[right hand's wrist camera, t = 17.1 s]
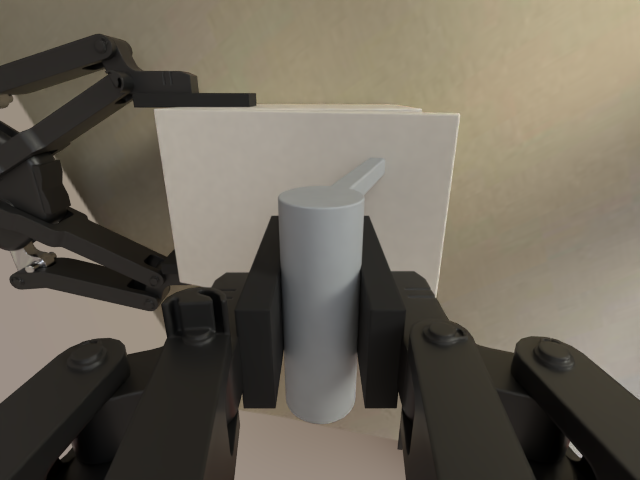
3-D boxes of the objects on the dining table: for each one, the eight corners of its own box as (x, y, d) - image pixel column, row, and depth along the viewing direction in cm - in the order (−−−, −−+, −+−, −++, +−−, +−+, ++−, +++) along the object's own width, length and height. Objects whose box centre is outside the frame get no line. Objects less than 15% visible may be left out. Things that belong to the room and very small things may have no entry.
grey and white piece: (460, 112, 15) (459, 136, 7) (433, 317, 19) (411, 497, 10) (170, 108, 20) (-47, 118, 11) (192, 273, 23) (40, 375, 15)
